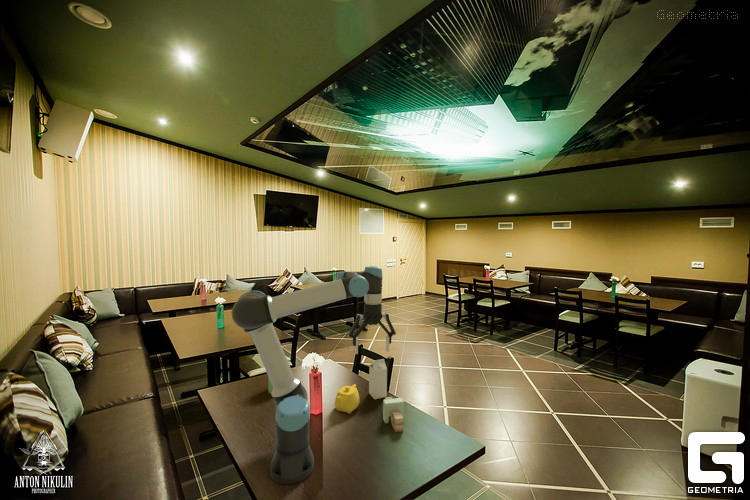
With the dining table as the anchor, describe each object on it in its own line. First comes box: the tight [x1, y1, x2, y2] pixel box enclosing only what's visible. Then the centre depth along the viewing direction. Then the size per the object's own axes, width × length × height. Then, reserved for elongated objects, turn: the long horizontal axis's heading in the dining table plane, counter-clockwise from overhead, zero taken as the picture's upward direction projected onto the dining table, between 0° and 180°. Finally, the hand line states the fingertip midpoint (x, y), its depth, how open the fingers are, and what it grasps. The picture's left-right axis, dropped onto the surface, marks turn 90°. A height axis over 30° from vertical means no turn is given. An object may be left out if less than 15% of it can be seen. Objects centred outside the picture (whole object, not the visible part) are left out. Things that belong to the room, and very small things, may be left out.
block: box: [382, 397, 405, 424], centre depth 138 cm, size 4×9×9 cm, turn 103°
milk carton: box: [368, 358, 388, 400], centre depth 160 cm, size 7×7×19 cm
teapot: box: [334, 384, 360, 415], centre depth 146 cm, size 18×11×11 cm, turn 156°
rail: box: [384, 396, 404, 433], centre depth 138 cm, size 18×4×6 cm, turn 13°
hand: (372, 351), depth 129 cm, fingers open, 13 cm apart
